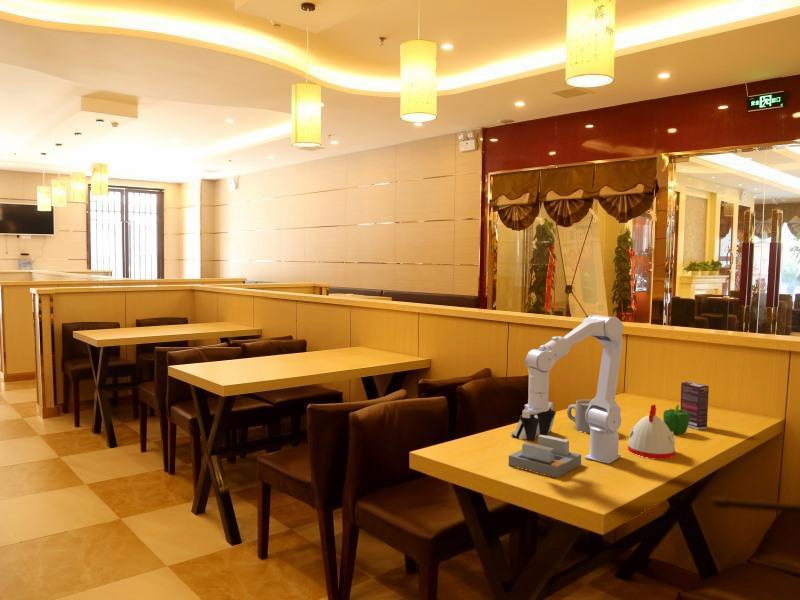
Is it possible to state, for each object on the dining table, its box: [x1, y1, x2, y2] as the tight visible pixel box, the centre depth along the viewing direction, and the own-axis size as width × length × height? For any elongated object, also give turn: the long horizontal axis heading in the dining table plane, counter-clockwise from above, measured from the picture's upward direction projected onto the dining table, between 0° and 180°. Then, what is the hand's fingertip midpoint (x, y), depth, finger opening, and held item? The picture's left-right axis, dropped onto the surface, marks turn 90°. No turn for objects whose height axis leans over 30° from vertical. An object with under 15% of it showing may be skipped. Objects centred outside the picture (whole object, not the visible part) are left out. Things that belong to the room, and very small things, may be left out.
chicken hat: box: [627, 404, 676, 460], centre depth 197 cm, size 14×14×15 cm
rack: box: [508, 435, 582, 479], centre depth 183 cm, size 16×16×7 cm
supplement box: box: [679, 381, 710, 431], centre depth 227 cm, size 9×5×16 cm, turn 22°
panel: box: [521, 441, 555, 465], centre depth 179 cm, size 2×9×7 cm, turn 49°
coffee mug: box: [566, 398, 602, 434], centre depth 223 cm, size 13×10×10 cm
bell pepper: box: [662, 403, 689, 435], centre depth 218 cm, size 8×8×10 cm
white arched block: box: [510, 414, 556, 441], centre depth 215 cm, size 17×5×10 cm, turn 130°
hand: (537, 437), depth 179 cm, fingers open, 7 cm apart
